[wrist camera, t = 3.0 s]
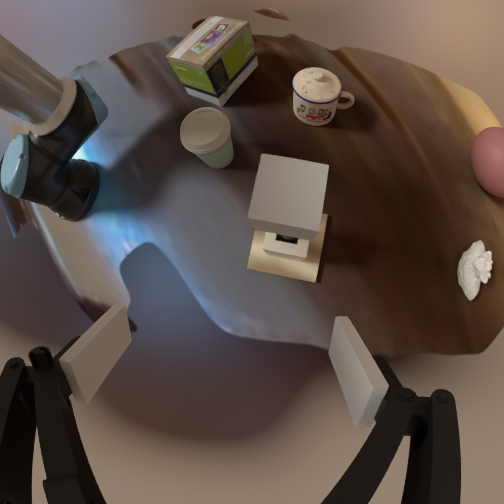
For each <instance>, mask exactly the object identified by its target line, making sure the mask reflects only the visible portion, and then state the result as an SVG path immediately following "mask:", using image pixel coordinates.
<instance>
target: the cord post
mask: <svg viewBox="0 0 504 504" xmlns="http://www.w3.org/2000/svg"><path fill="white" fill-rule="evenodd" d="M328 169H329V165H326V164H321V163H316V162H310V161H305V160H300V159H294V158H288V157H282V156H276V155H269V154H261V159H260V163H259V168H258V172H257V177H256V181H255V186H254V190H253V195H252V199H251V204H250V208H249V213H248V219H249V221H250V222H251V224H252V225H253V227H254V228H255V230H259V231H264V232H270V233H275V234H280V235H281V236H282V242H287V243H292V244H293V243H294V239H295V238H300V239H305V240H310V241H312V240H313V239H314V238H315V236H316V235H317V233H318V232H319V228H320V222H321V216H322V209H323V203H324V197H325V190H326V183H327V176H328Z"/></svg>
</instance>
